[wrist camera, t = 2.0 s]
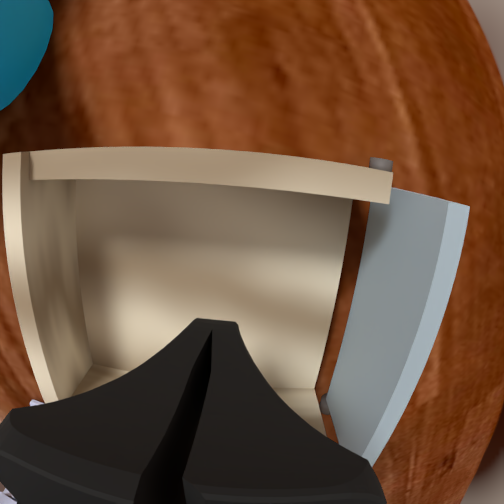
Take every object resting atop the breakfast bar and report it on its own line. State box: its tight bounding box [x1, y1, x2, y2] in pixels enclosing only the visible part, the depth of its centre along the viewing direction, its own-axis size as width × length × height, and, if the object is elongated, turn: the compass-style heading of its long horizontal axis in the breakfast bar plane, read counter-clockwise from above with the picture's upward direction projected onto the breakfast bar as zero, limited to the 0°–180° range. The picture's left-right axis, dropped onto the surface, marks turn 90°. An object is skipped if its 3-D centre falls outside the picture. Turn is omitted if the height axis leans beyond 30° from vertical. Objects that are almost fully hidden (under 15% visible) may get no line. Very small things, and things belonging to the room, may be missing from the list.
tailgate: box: [326, 187, 470, 467], centre depth 11 cm, size 11×1×5 cm, turn 175°
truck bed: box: [2, 147, 393, 437], centre depth 12 cm, size 13×15×5 cm
